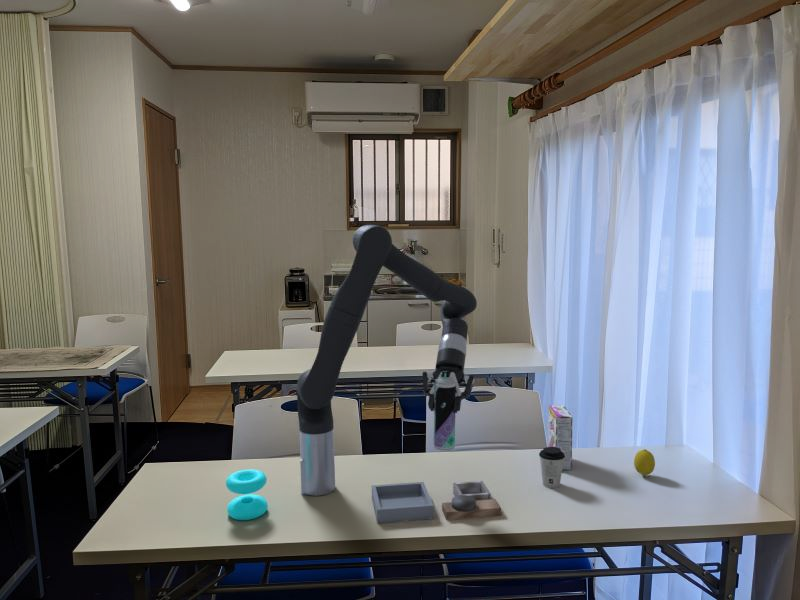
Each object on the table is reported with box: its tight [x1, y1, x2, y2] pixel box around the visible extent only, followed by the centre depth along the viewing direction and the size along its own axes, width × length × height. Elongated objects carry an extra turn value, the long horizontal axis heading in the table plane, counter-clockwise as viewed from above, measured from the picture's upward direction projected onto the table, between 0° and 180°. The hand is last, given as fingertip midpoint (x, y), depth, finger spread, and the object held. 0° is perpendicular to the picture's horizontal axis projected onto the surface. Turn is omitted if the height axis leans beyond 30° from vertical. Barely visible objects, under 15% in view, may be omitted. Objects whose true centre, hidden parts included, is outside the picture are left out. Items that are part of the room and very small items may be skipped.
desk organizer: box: [441, 480, 502, 521], centre depth 163 cm, size 14×15×4 cm
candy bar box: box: [547, 404, 574, 471], centre depth 188 cm, size 11×5×16 cm, turn 179°
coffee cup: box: [538, 446, 565, 489], centre depth 174 cm, size 7×7×10 cm
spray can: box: [432, 371, 456, 451], centre depth 161 cm, size 6×6×20 cm
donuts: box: [225, 468, 269, 521], centre depth 160 cm, size 10×10×10 cm
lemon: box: [633, 448, 656, 477], centre depth 179 cm, size 6×6×8 cm
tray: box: [371, 481, 435, 524], centre depth 162 cm, size 14×14×4 cm
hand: (443, 410), depth 160 cm, fingers closed on spray can, 5 cm apart
